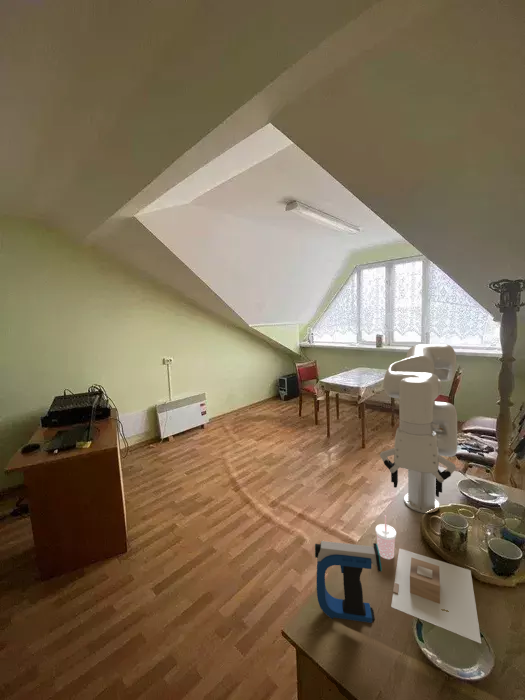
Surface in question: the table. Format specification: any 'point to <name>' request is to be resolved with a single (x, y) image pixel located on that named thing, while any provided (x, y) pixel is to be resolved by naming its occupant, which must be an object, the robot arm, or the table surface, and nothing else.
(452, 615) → the subfloor panel
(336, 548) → the handheld scanner
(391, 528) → the beverage cup
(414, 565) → the block
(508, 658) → the table surface
